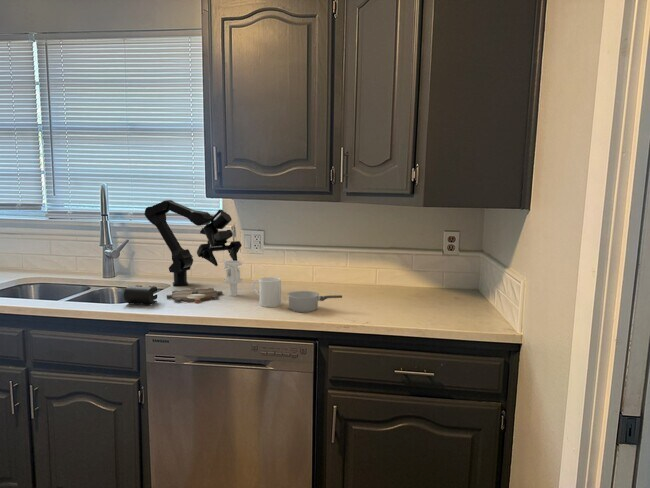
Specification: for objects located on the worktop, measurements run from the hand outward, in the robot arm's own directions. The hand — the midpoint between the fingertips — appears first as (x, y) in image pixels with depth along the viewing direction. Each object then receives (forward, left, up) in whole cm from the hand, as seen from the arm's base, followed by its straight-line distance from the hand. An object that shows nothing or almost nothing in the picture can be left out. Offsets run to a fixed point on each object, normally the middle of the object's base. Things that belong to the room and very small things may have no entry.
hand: (227, 264), depth 183 cm
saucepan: (+36, +26, -12) cm, 46 cm away
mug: (+23, +11, -12) cm, 28 cm away
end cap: (+7, -33, -12) cm, 36 cm away
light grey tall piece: (+5, +2, -12) cm, 13 cm away
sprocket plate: (+2, -13, -12) cm, 18 cm away
